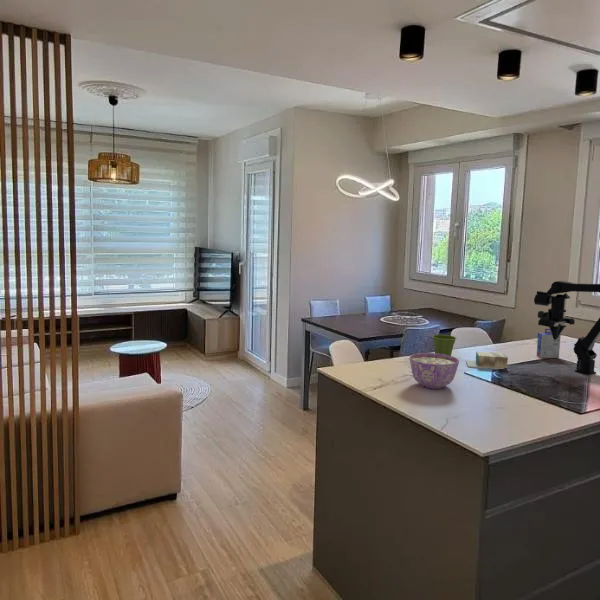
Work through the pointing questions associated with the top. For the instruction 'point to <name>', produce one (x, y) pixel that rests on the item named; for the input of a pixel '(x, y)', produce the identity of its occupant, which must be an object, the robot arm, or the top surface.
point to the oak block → (491, 359)
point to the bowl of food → (433, 369)
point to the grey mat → (474, 365)
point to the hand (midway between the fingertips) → (555, 339)
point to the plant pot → (443, 344)
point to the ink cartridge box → (548, 345)
